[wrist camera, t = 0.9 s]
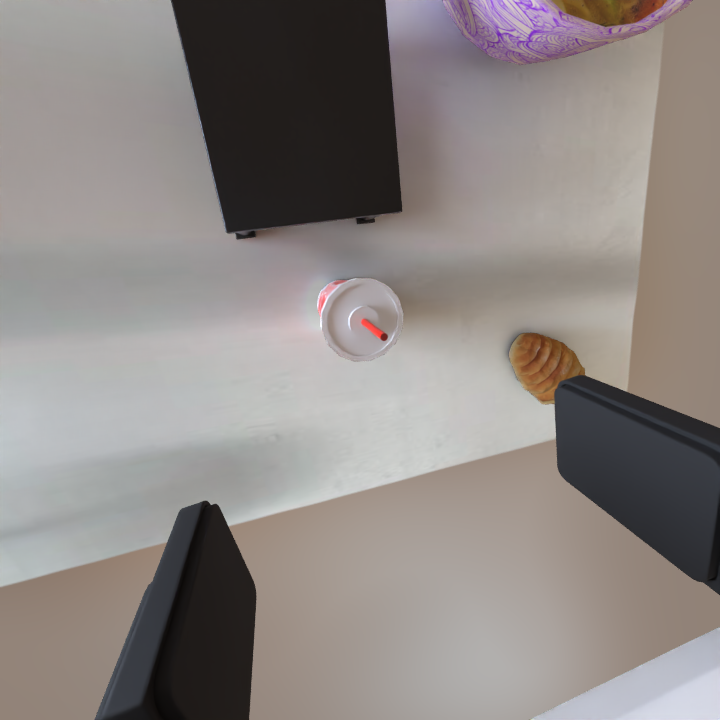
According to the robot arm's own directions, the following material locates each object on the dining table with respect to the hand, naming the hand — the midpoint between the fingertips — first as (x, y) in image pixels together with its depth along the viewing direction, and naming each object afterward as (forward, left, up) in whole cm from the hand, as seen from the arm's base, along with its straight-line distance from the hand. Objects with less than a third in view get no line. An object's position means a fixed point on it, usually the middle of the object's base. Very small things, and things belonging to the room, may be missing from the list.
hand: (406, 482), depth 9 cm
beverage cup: (-1, +3, -26) cm, 26 cm away
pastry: (+10, +25, -26) cm, 37 cm away
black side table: (-15, +1, -26) cm, 30 cm away
